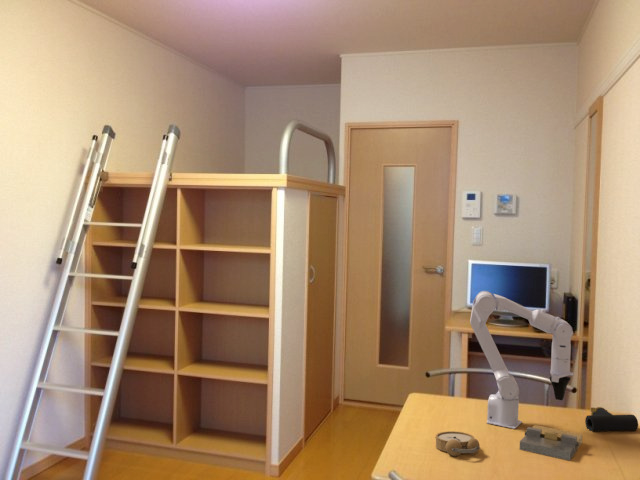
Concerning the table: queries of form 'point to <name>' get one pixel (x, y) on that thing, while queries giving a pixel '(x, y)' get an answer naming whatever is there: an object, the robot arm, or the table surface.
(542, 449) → the fixed leaf
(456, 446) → the alarm clock
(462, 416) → the table surface
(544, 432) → the tan flat block
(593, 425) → the pipe connector
